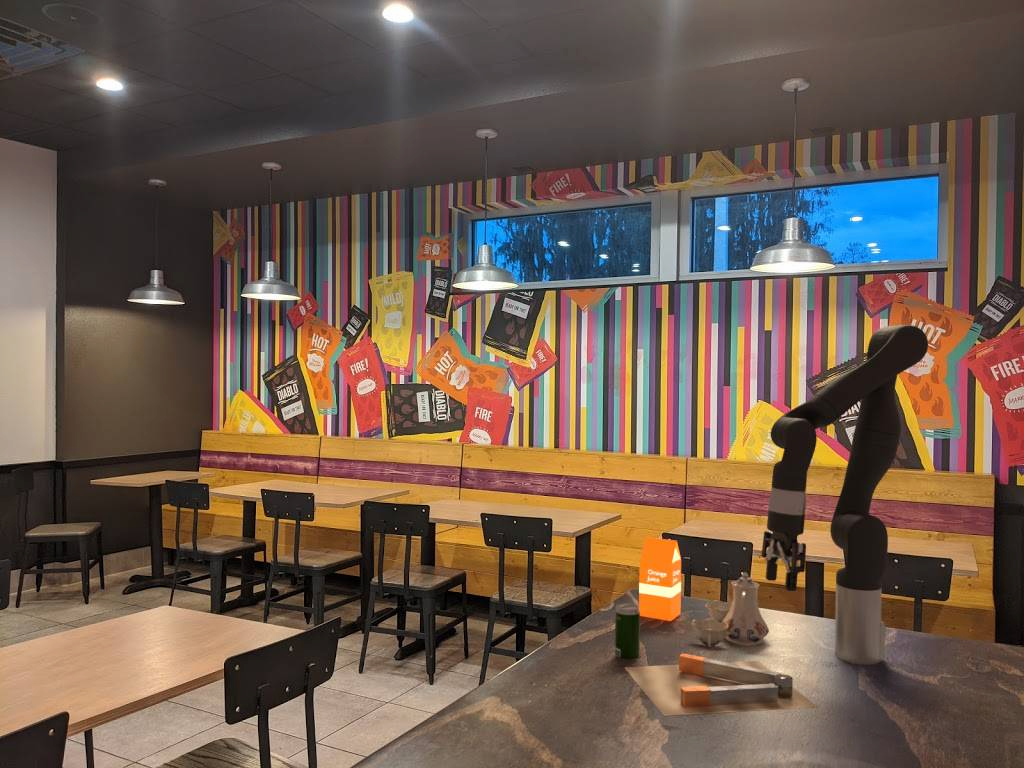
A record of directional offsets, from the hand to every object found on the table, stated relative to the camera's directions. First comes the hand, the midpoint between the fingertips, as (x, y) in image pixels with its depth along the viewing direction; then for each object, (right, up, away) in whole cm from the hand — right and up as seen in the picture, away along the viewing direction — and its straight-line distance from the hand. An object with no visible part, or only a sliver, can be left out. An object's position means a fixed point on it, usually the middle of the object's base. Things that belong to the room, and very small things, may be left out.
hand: (780, 585), depth 172 cm
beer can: (-33, -18, +3) cm, 37 cm away
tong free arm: (-14, -16, -13) cm, 25 cm away
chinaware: (-5, -18, +20) cm, 27 cm away
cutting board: (-18, -18, -14) cm, 29 cm away
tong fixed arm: (-17, -17, -22) cm, 32 cm away
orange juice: (-19, -18, +38) cm, 46 cm away
